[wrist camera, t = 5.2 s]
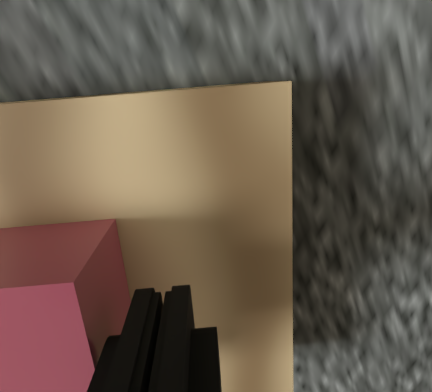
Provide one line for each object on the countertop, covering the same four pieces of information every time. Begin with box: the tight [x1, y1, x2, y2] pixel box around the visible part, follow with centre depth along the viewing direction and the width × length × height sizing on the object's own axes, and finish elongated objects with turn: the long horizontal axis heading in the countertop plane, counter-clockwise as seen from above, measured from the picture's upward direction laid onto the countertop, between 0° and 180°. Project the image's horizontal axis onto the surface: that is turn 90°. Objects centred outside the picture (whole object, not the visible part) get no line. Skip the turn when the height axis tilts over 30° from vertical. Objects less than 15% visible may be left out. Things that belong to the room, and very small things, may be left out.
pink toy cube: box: [0, 219, 131, 392], centre depth 11 cm, size 6×6×4 cm
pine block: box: [0, 81, 293, 392], centre depth 15 cm, size 16×14×4 cm
